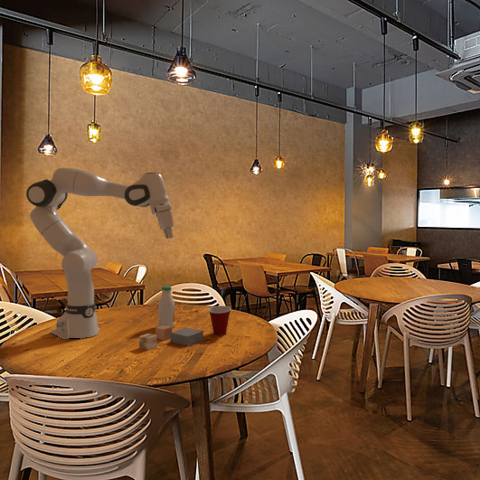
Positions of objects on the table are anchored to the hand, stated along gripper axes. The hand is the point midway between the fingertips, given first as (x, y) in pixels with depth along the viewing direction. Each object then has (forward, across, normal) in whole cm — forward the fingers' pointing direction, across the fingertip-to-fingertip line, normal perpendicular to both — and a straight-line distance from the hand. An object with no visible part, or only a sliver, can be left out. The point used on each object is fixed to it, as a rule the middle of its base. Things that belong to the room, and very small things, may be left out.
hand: (169, 238), depth 175 cm
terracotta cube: (+42, -1, -14) cm, 45 cm away
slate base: (+45, +6, -6) cm, 46 cm away
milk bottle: (+42, -19, -11) cm, 48 cm away
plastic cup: (+49, -1, +10) cm, 50 cm away
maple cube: (+41, +10, -22) cm, 48 cm away
